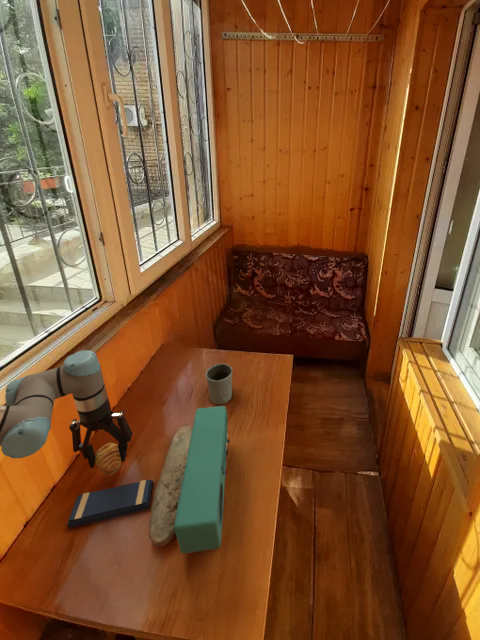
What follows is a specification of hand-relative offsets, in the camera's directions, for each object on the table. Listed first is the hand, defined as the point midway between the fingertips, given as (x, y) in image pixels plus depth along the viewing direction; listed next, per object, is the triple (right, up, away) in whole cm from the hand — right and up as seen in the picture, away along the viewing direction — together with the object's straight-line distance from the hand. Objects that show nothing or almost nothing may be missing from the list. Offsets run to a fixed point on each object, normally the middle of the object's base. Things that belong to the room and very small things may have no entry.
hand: (109, 460), depth 94 cm
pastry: (0, 0, 0) cm, 1 cm away
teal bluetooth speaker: (+32, -7, -3) cm, 33 cm away
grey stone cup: (+27, +5, +31) cm, 42 cm away
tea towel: (+5, -8, -7) cm, 12 cm away
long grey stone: (+21, -6, 0) cm, 21 cm away
